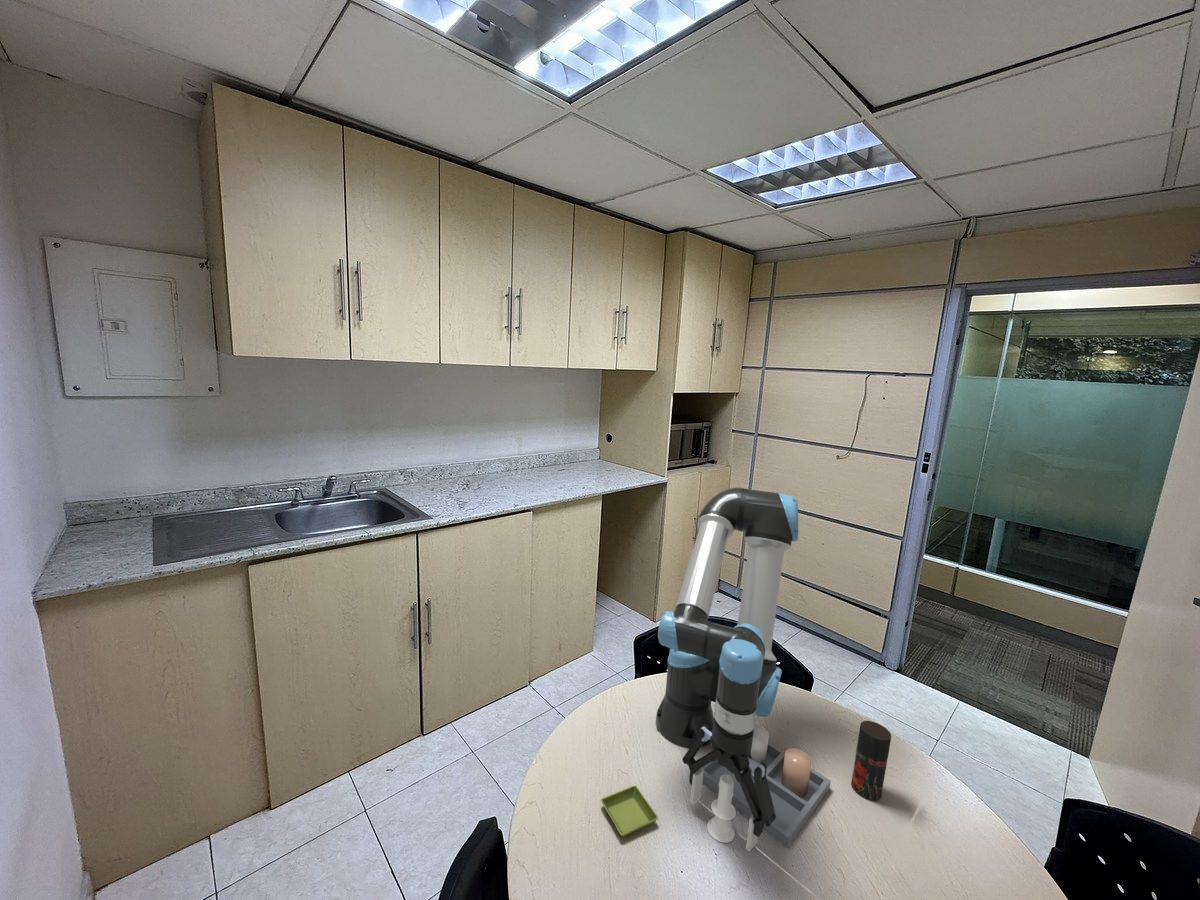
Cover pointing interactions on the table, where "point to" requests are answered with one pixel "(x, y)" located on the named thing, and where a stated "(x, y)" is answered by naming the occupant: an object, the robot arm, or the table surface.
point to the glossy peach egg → (796, 771)
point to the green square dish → (629, 810)
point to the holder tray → (774, 795)
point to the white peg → (723, 812)
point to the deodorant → (871, 760)
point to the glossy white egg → (759, 744)
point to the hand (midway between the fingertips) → (721, 822)
